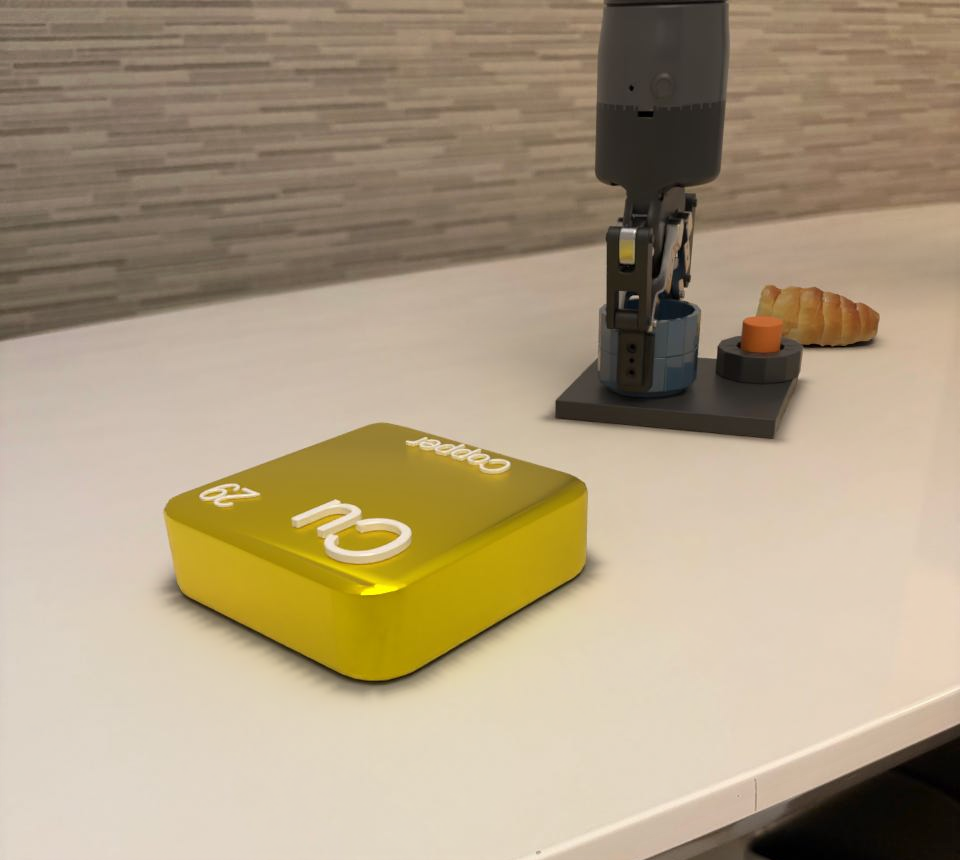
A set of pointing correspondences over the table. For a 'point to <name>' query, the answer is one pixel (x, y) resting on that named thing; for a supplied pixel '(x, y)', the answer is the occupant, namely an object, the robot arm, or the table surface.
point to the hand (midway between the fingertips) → (646, 374)
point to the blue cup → (658, 348)
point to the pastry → (818, 316)
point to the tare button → (761, 334)
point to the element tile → (378, 546)
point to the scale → (700, 394)
